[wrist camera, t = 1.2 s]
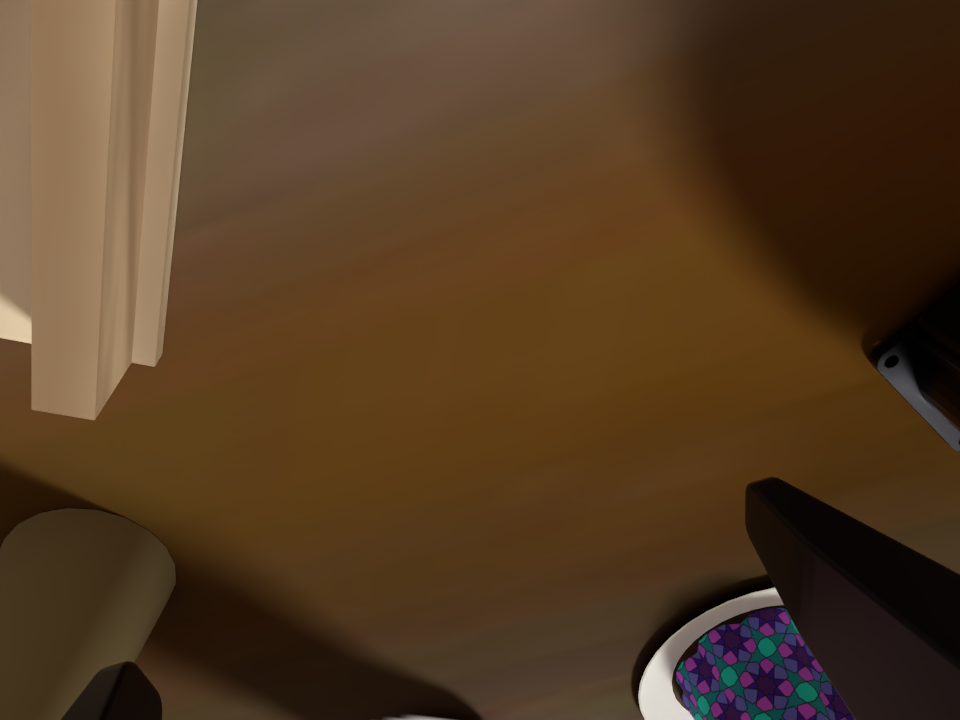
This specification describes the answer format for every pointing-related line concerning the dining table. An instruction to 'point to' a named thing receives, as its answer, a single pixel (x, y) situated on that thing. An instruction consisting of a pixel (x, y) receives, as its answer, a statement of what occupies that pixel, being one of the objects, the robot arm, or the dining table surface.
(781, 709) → the patterned bowl
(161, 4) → the cradle
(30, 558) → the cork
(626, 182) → the dining table surface
